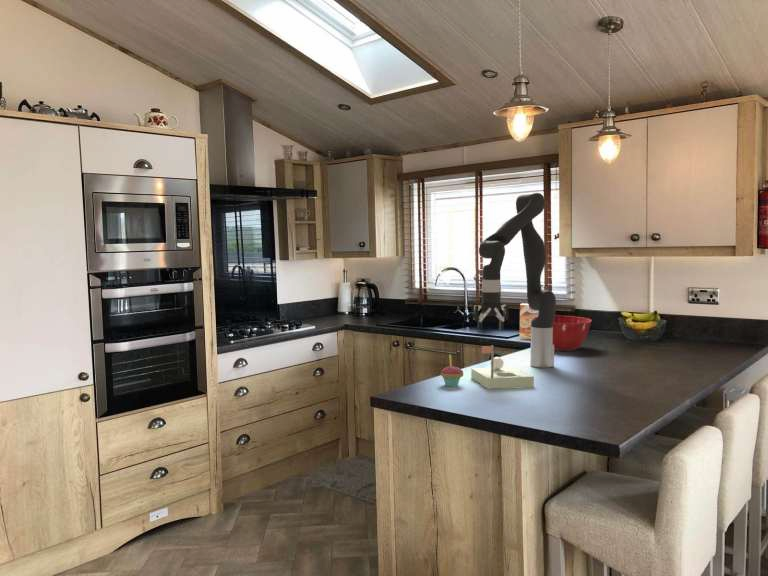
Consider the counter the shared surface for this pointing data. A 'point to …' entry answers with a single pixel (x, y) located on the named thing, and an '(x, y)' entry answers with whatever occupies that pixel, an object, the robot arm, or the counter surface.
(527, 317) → the coffeecake box
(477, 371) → the board
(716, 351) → the counter surface
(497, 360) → the ball
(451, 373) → the cupcake
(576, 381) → the counter surface
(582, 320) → the mixing bowl
